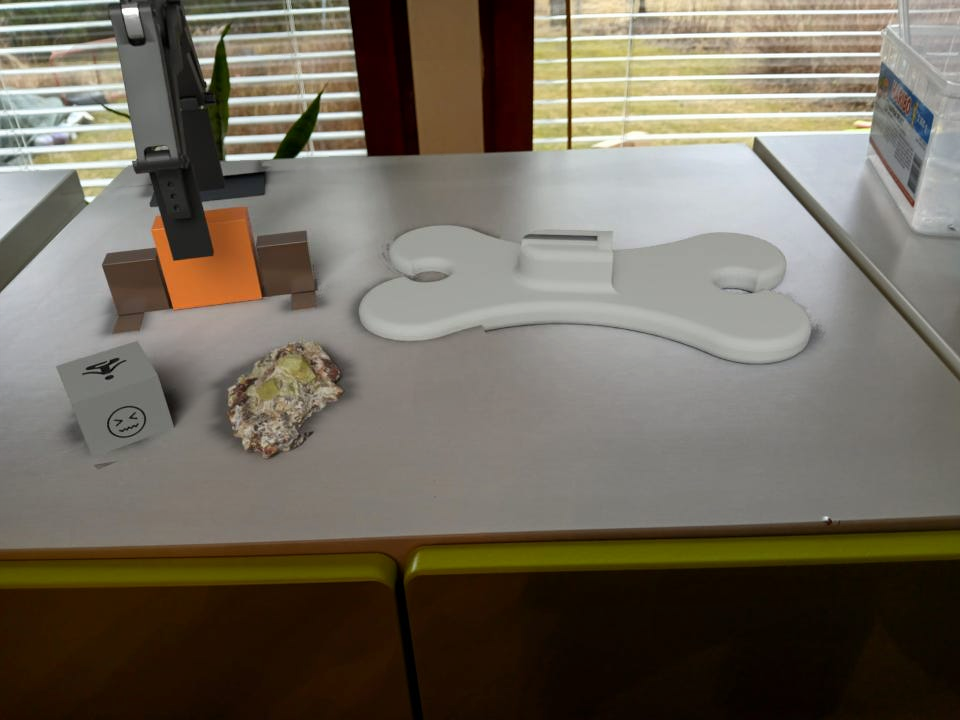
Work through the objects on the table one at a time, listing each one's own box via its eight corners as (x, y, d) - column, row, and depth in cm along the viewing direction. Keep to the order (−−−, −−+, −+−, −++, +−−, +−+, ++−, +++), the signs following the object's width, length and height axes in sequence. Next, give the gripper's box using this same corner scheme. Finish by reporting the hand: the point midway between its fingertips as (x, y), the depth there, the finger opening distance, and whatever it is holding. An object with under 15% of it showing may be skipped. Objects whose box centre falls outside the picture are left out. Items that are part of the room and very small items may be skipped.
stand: (129, 297, 68) (110, 238, 65) (317, 274, 70) (308, 216, 67) (112, 345, 61) (91, 282, 58) (321, 318, 64) (310, 256, 61)
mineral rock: (236, 338, 57) (338, 313, 55) (264, 385, 59) (362, 362, 57) (181, 437, 48) (299, 411, 46) (215, 487, 51) (329, 464, 49)
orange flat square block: (177, 294, 66) (155, 215, 62) (263, 283, 67) (247, 205, 63) (173, 310, 64) (150, 229, 60) (262, 299, 65) (245, 219, 61)
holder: (402, 240, 75) (397, 191, 73) (773, 251, 71) (783, 198, 68) (347, 348, 60) (338, 289, 57) (819, 371, 55) (835, 308, 52)
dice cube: (157, 401, 55) (137, 340, 52) (177, 439, 51) (157, 375, 48) (80, 428, 53) (55, 366, 50) (96, 469, 49) (71, 404, 46)
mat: (163, 169, 95) (163, 166, 95) (266, 159, 97) (265, 156, 96) (150, 206, 85) (149, 203, 85) (264, 194, 87) (263, 191, 87)
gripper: (160, -88, 40) (245, 285, 52) (201, -108, 61) (255, 162, 72) (1, -78, 39) (125, 300, 51) (98, -102, 60) (170, 171, 71)
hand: (202, 220), depth 61 cm, fingers open, 13 cm apart
